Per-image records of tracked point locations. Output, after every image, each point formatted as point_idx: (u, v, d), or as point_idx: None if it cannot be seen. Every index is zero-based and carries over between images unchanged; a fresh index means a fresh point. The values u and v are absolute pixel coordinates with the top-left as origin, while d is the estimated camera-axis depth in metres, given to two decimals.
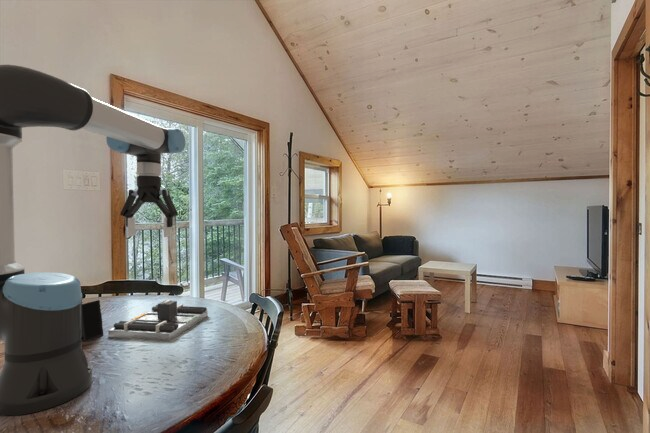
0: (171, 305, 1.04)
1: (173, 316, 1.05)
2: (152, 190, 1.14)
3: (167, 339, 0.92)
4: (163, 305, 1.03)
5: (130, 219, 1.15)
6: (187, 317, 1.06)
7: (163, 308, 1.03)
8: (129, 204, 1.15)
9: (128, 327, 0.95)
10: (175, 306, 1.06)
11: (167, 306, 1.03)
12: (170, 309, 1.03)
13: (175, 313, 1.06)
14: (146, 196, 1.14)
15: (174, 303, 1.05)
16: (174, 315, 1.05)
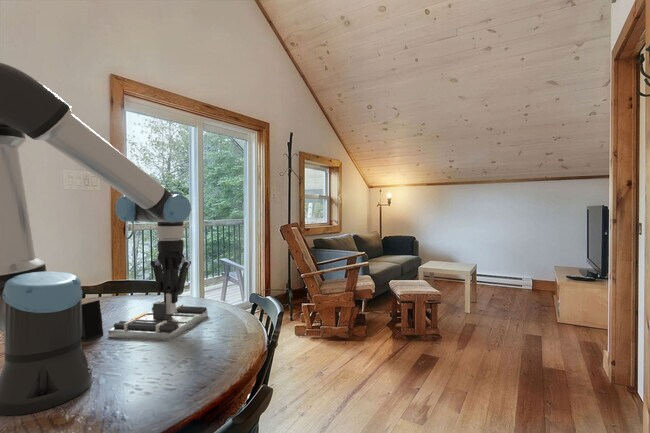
0: None
1: (169, 316, 1.05)
2: (176, 254, 1.03)
3: (167, 339, 0.92)
4: (159, 305, 1.03)
5: None
6: (187, 317, 1.06)
7: (159, 307, 1.03)
8: (159, 275, 1.05)
9: (128, 327, 0.95)
10: None
11: (163, 306, 1.03)
12: None
13: None
14: (168, 262, 1.04)
15: None
16: (170, 315, 1.06)
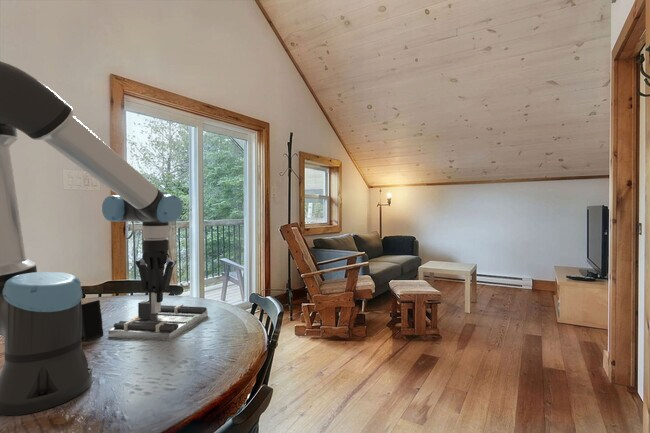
0: None
1: (154, 315, 1.06)
2: (161, 254, 1.04)
3: (167, 339, 0.92)
4: (144, 304, 1.04)
5: None
6: (187, 317, 1.06)
7: (144, 307, 1.04)
8: (145, 275, 1.05)
9: (128, 327, 0.95)
10: None
11: (147, 305, 1.04)
12: None
13: None
14: (153, 262, 1.04)
15: None
16: (155, 314, 1.06)
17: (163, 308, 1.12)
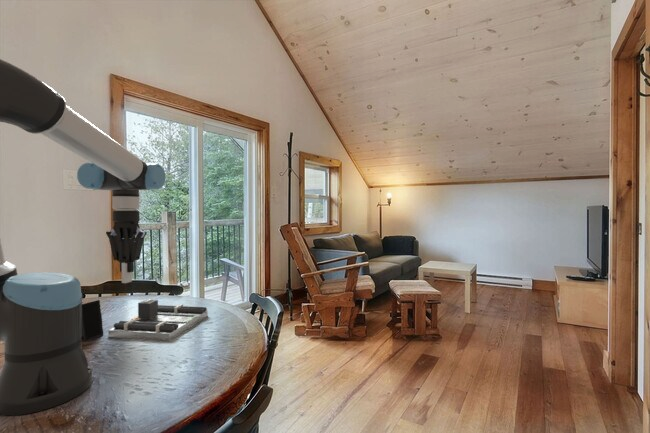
0: (152, 304, 1.05)
1: (154, 315, 1.06)
2: (131, 224, 1.05)
3: (167, 339, 0.92)
4: (143, 304, 1.04)
5: None
6: (187, 317, 1.06)
7: (144, 307, 1.04)
8: (115, 245, 1.07)
9: (128, 327, 0.95)
10: (156, 305, 1.07)
11: (147, 305, 1.04)
12: (150, 308, 1.04)
13: (156, 312, 1.07)
14: (123, 232, 1.06)
15: (155, 302, 1.06)
16: (155, 314, 1.06)
17: (163, 308, 1.12)
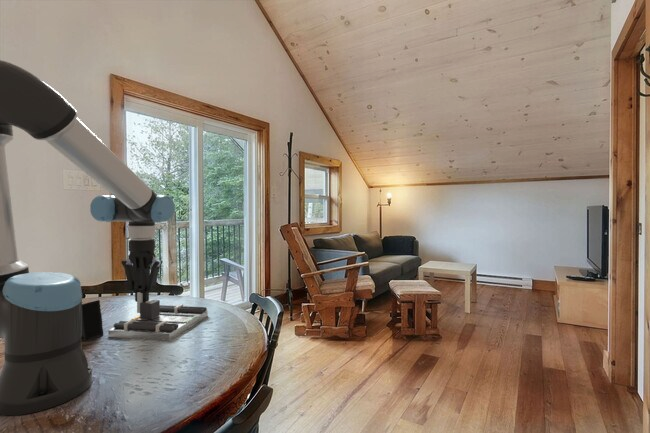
0: (153, 304, 1.05)
1: (156, 316, 1.06)
2: (147, 253, 1.04)
3: (167, 339, 0.92)
4: (145, 304, 1.04)
5: None
6: (187, 317, 1.06)
7: (146, 307, 1.04)
8: (131, 275, 1.06)
9: (128, 327, 0.95)
10: (158, 305, 1.07)
11: (149, 305, 1.04)
12: (152, 308, 1.04)
13: (158, 312, 1.07)
14: (139, 261, 1.05)
15: (157, 302, 1.06)
16: (157, 314, 1.06)
17: (163, 308, 1.12)
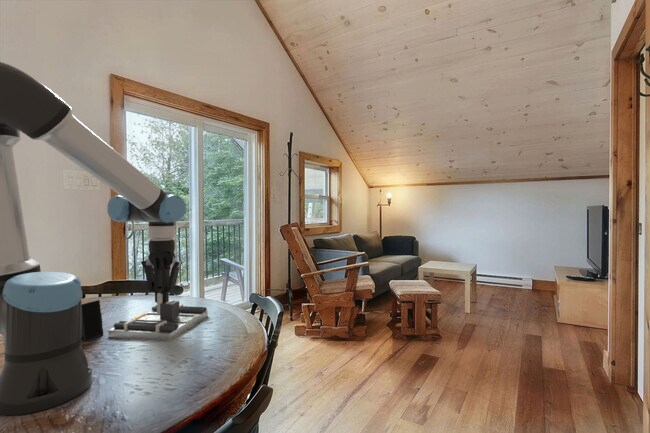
0: (174, 305, 1.04)
1: (176, 317, 1.05)
2: (167, 254, 1.04)
3: (167, 339, 0.92)
4: (166, 305, 1.03)
5: None
6: (187, 317, 1.06)
7: (166, 308, 1.03)
8: (150, 275, 1.05)
9: (128, 327, 0.95)
10: (177, 306, 1.06)
11: (170, 306, 1.03)
12: (173, 309, 1.03)
13: (177, 313, 1.06)
14: (159, 262, 1.04)
15: (176, 303, 1.05)
16: (176, 315, 1.05)
17: None
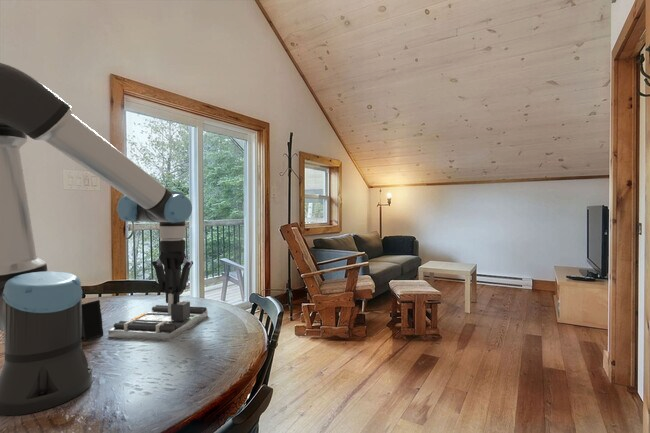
0: (184, 306, 1.03)
1: (186, 317, 1.04)
2: (178, 254, 1.03)
3: (167, 339, 0.92)
4: (177, 306, 1.02)
5: None
6: None
7: (177, 308, 1.02)
8: (161, 275, 1.05)
9: (128, 327, 0.95)
10: (188, 307, 1.05)
11: (181, 307, 1.02)
12: (184, 310, 1.03)
13: (188, 314, 1.05)
14: (169, 262, 1.03)
15: (187, 304, 1.05)
16: (187, 316, 1.05)
17: (163, 308, 1.12)
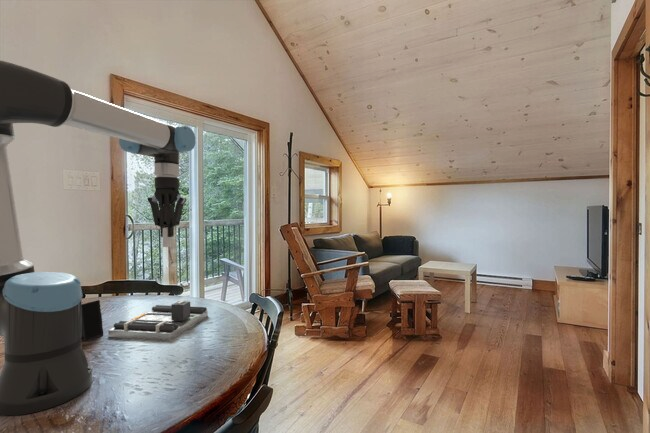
0: (185, 306, 1.03)
1: (187, 317, 1.04)
2: (172, 190, 1.09)
3: (167, 339, 0.92)
4: (177, 306, 1.02)
5: None
6: None
7: (177, 308, 1.02)
8: (156, 211, 1.11)
9: (128, 327, 0.95)
10: (189, 307, 1.05)
11: (181, 307, 1.02)
12: (184, 310, 1.03)
13: (189, 314, 1.05)
14: (164, 198, 1.10)
15: (188, 304, 1.05)
16: (188, 316, 1.05)
17: (163, 308, 1.12)
